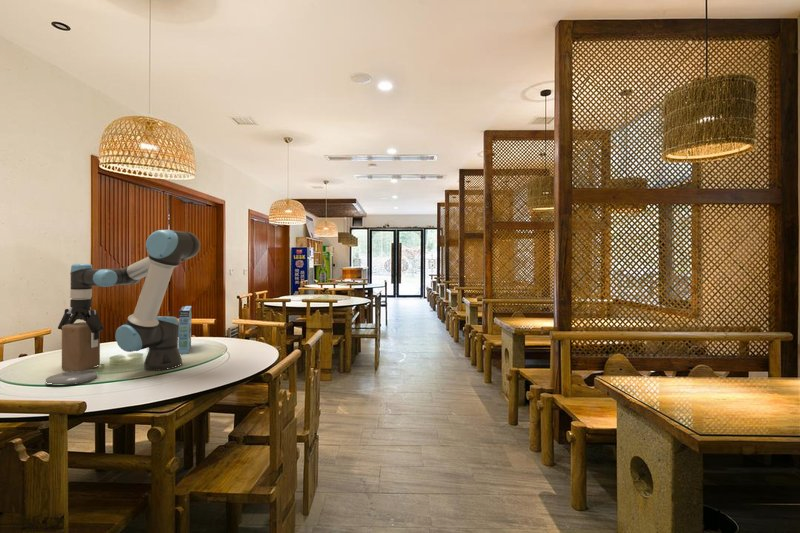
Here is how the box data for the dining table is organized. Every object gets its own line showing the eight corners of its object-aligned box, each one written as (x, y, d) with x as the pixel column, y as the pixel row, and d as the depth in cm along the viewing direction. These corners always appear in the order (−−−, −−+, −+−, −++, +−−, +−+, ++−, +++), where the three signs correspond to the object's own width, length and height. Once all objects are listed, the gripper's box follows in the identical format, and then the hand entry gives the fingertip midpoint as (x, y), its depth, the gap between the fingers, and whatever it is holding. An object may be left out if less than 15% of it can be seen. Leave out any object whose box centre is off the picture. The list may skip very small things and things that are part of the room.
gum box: (181, 346, 223) (181, 306, 223) (191, 346, 225) (192, 305, 225) (177, 354, 205) (178, 310, 205) (188, 354, 207) (189, 310, 207)
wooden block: (79, 372, 172) (79, 326, 171) (60, 370, 174) (60, 325, 173) (100, 366, 182) (101, 322, 181) (82, 364, 184) (83, 321, 183)
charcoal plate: (107, 376, 168) (107, 371, 168) (71, 388, 152) (71, 383, 152) (72, 374, 169) (72, 369, 169) (34, 386, 153) (34, 380, 153)
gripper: (113, 298, 179) (113, 345, 180) (63, 296, 182) (63, 342, 183) (99, 300, 172) (98, 349, 172) (47, 298, 175) (47, 346, 175)
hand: (80, 346), depth 178 cm, fingers open, 13 cm apart
